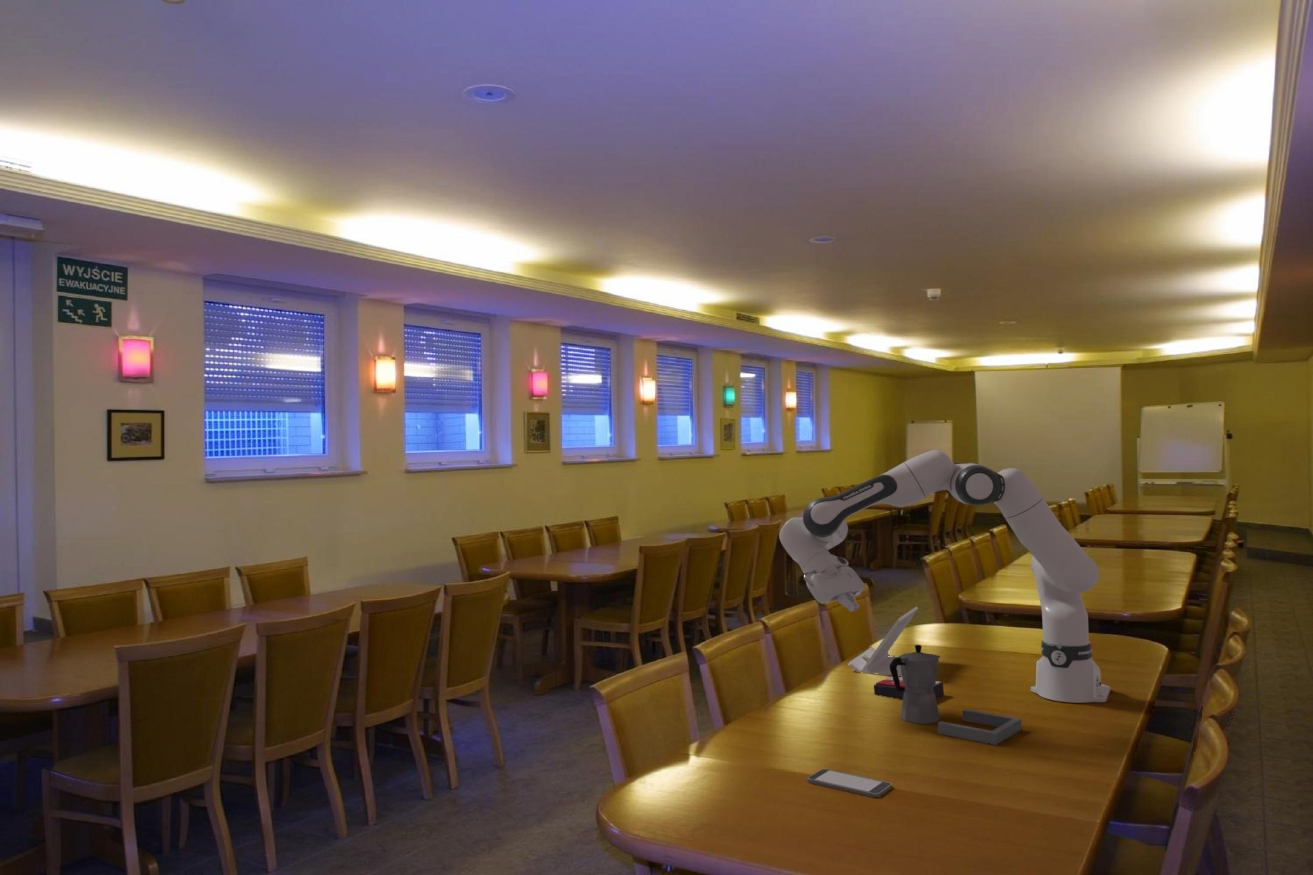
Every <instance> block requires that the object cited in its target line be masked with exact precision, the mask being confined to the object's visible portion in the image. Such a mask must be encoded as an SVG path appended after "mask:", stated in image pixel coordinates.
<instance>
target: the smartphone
mask: <svg viewBox="0 0 1313 875" xmlns="http://www.w3.org/2000/svg"><path fill="white" fill-rule="evenodd" d="M807 783H808V784H812V783H813V785H816V786H820V785H821V786H822V787H825V786H828V787H827V788H829V787H830V789H834V788H836V789H835V790H838V789H839V790H838V791H842V790H845V791H844V792H847V791H850V792H849V793H851V792H852V793H853V794H856V793H857V794H856V795H860V794H862V795H861V796H864V795H865V796H866V797H869V796H870V797H869V798H873V797H878V798H880V797H881V795H882V794H883V795H884V794H886V793H887V792H888V791H891V789H892V788H893V784H892V782H888V781H885V780H879V779H875V778H871V777H870V778H869V777H865V776H862V775H856V774H851V773H846V772H844V771H843V772H842V771H838V770H833V769H828V768H822V769H819V771H816V772H815V773H812V774H811V775H810V776H808V777H807ZM883 795H882V796H883Z"/></svg>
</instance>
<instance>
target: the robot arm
mask: <svg viewBox="0 0 1313 875" xmlns="http://www.w3.org/2000/svg"><path fill="white" fill-rule="evenodd" d="M939 491H945V493H947V494H948V495H949V496H950V497H951V498H953V499H954V500H956V501H958V502H960V503H962V504H964V505H969V506H975V507H977V506H984V505H988V504H991V503H992V504H995V506H996V508H998V509H999V511H1000V512H1001V514H1002V516H1003V517H1004V519H1005V521H1006V522H1007V523H1008V526H1010V528H1011V530H1012V532H1014V534H1015V536H1016V537H1017V539H1018V541H1019V542H1020V543H1021V545H1022V546H1024V547H1025V548H1026V549H1027V551H1028V552H1030V554H1031V555H1032V557H1031V561H1030V569H1031V571H1032V574H1033V576H1034V579H1035V584H1036V589H1037V593H1038V598H1039V602H1040V603H1039V604H1040V607H1041V609H1040V610H1041V618H1042V641H1041V644H1040V649H1041V655H1042V656H1041V657H1040V659H1038V660H1037V661H1036V670H1035V673H1036V675H1035V685H1033V686H1030V692H1032V693H1035V694H1038V696H1040V697H1042V698H1043V699H1047V700H1051V701H1056V702H1063V703H1064V702H1065V703H1077V704H1079V703H1084V704H1085V703H1106V702H1107V701H1108V699H1109V696H1110V692H1111V686H1109V685H1106V684H1103V683H1102V681H1101V680H1102V676H1101V668H1100V667H1099V666H1098V665H1097V663H1096V662H1095V661H1094V660H1093V648H1094V646H1093V645H1094V644H1093V642H1092V641H1089V636H1090V635H1089V614H1088V611H1087V609H1086V607H1085V605H1084V602H1083V599H1082V595H1081V593H1085V592H1088V591H1090V590H1092V589H1093V588H1094V587H1096V585H1097V583H1098V581H1099V578H1100V571H1099V568H1098V565H1097V563H1096V561H1094V560H1093V559H1092V558H1091V557H1090V556H1089V555H1088V554H1087V553H1086V552H1085V551H1084V549H1083V548H1082V547H1081V546H1080V544H1079V543H1078V542H1077V541H1076V539H1074V538H1073V536H1072V535H1071V534H1070V533H1069V531H1067V530H1066V528H1065V527H1064V526H1063V525H1062V524H1061V522H1060V521H1059V520H1058V518H1057V517H1056V515H1055V514H1054V512H1053V510H1052V509H1051V507H1050V506H1049V505H1048V503H1047V501H1046V500H1045V498H1044V496H1042V494H1041V492H1040V491H1039V490H1038V488H1037V487H1036V485H1035V484H1034V483H1033V482H1032V481H1031V480H1030V478H1029V477H1028V476H1027V475H1026V474H1025V473H1024V472H1023V470H1020V469H1018V468H1015V467H1009V468H1004V469H1001V470H1000V471H998V472H996V471H994V470H992V469H990V468H988V467H987V466H983V465H980V464H977V463H973V462H969V463H966V462H959V463H958V462H956V463H955V462H953V461H952V459H951V457H950V456H949V455H948V454H947V453H946V452H944V451H942V450H941V449H933V450H932V449H931V450H929V451H926V452H923V453H921V454H918V455H916V456H914V457H912V458H910V459H907V460H906V461H903V462H901V463H900V464H898V465H897V466H895V467H893V468H891V469H889V470H888V471H886V472H884V473H882V474H880V475H878V476H876V477H873V478H871V479H869V480H866V481H863V482H861V483H860V484H857V485H855V486H853V487H851V488H849V489H847V490H845V491H843V492H841V493H839V494H836V495H832V496H826V497H825V496H824V497H818V498H816V499H812V500H811V501H810V502H809V503H808V504H807V505H806V506H805V508H804V511H803V515H802V517H797V516H795V517H792V518H789V519H788V520H787V521H785V523H784V524H782V527H781V528H780V530H779V535H778V536H779V537H778V538H779V541H780V543H781V545H782V547H783V549H784V550H785V551H786V552H787V554H788V555H789V556H790V557H791V558H792V560H793V561H794V562H796V563H797V564H798V566H799V567H800V569H801V571H802V573H803V574H804V575H803V580H804V581H805V583H806V586H807V588H808V591H809V592H810V593H811V595H812V596H813V598H814V599H815V600H816V602H818V603H820V604H821V605H823V604H827V603H832V602H836V601H837V602H838V603H839V604H840V605H842V606H843V607H845V608H846V609H847V610H848V611H849V612H850V613H851V612H856V611H858V610H859V609H860V605H859V603H858V602H857V600H856V597H857V596H858V597H859V596H860V594H861V593H862V592H863V591H864V590H865V589H866V587H865V583H864V582H863V580H862V579H861V577H860V576H859V575H858V574H857V573H856V571H855V570H854V569H853V568H852V567H850V566H849V561H848V560H847V559H846V558H844V557H840V556H836V555H835V554H831V553H830V552H829V550H831V549H833V548H835V547H837V546H838V545H840V544H841V543H843V542H844V541H845V539H846V538H847V535H848V533H849V532H848V531H849V527H848V526H849V525H848V522H847V521H846V519H848V518H849V517H851V516H853V515H854V514H857V513H859V512H861V511H864V510H865V509H867V508H869V507H871V506H874V505H878V504H885V505H890V506H892V507H893V506H894V507H897V508H905V507H908V506H911V505H913V504H916V503H919V502H921V501H922V500H924V499H925V498H927V497H930V496H931V495H932V494H934V493H936V492H939Z"/></svg>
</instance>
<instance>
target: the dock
mask: <svg viewBox="0 0 1313 875" xmlns="http://www.w3.org/2000/svg"><path fill="white" fill-rule="evenodd" d="M962 721H963V722H969V723H973V724H980V725H984V726H989V727H995V728H994V729H993V730H988V729H984V728H979V727H978V728H977V727H974V726H967V725H962V724H957V723H951V722H945V721H942V720H941V721H940V720H939V721H938V722H937V734H938V735H944V736H948V737H953V738H958V739H962V740H967V741H968V740H969V741H974V742H977V741H979V742H978V743H984V744H988V743H990V744H989V745H993V746H994V745H995V746H997V745H999V744H1001V743H1002V742H1004V741H1005V739H1006V738H1007V739H1008V738H1011V737H1012V736H1014V735H1015V734H1016V733H1019V732H1021V729H1022V718H1020V717H1013V716H1007V715H1003V714H996V713H991V712H986V711H979V710H973V709H968V708H967V709H966V708H964V709H962ZM1022 730H1023V729H1022ZM1007 739H1006V740H1007ZM1003 740H1004V741H1003ZM1001 741H1002V742H1001ZM1000 742H1001V743H1000ZM998 743H999V744H998Z"/></svg>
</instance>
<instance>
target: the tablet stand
mask: <svg viewBox="0 0 1313 875" xmlns="http://www.w3.org/2000/svg"><path fill="white" fill-rule="evenodd" d="M919 609H920V608H919V607H918V606H915V607H913V608H911V609H910V610H909V611H907V612H906V613H904V614H903V615H901V616H900V617H898V618H897V620H896V621H895V623H894V624H893V625H892V626H891V628H890V630H889V631H888V632H887V634H886V635H885V636H884V638H883V639H882V640H881V642H880V644H879V645H878V646H877V647H876V649H875V648H874V647H873V646H870V647H869V648H868V649H867V650H864V652H862V653H860V654H859V655H857V656H856V657H854V658H853V659H852V660H850V661H849V663H848V664H847V666H848V667H850V668H851V669H853V671H856V672H857V673H858V672H863V673H862V674H867V673H878V674H884V675H883V676H888V675H892V674H891V671H890V664H891V662H892V660H893V659H894V658H897V657H895V656H896V655H892V654H889V651H890V650H891V648H892V647H893V645H894V644H895V643H896V641H897V640H898V639H899V637H900V636H901V634H902V633H903V631H904V630H905V628H906V627H907V626H908V624H909V623H910V621H911V620H912V619H913V617H914V616H915V615H916V613H917V612H918V610H919ZM890 655H891V656H893V657H888V656H890ZM866 660H867V661H866ZM896 669H897V673H898V675H899V676H902V672H901V667H900V665H898V666H897V668H896Z"/></svg>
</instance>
